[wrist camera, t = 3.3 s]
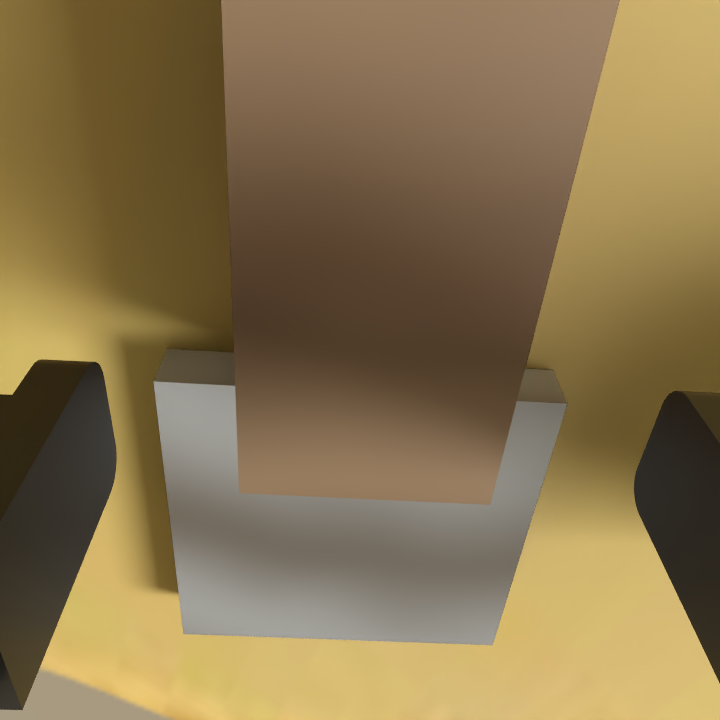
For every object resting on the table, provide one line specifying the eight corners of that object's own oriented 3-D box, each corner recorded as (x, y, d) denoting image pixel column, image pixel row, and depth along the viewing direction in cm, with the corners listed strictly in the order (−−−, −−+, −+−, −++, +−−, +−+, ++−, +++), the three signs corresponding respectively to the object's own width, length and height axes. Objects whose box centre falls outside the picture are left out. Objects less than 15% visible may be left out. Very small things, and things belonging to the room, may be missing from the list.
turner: (118, -136, 9) (-8, -153, 6) (681, -86, 10) (847, -76, 7) (192, 594, 18) (157, 747, 15) (485, 605, 19) (513, 756, 15)
